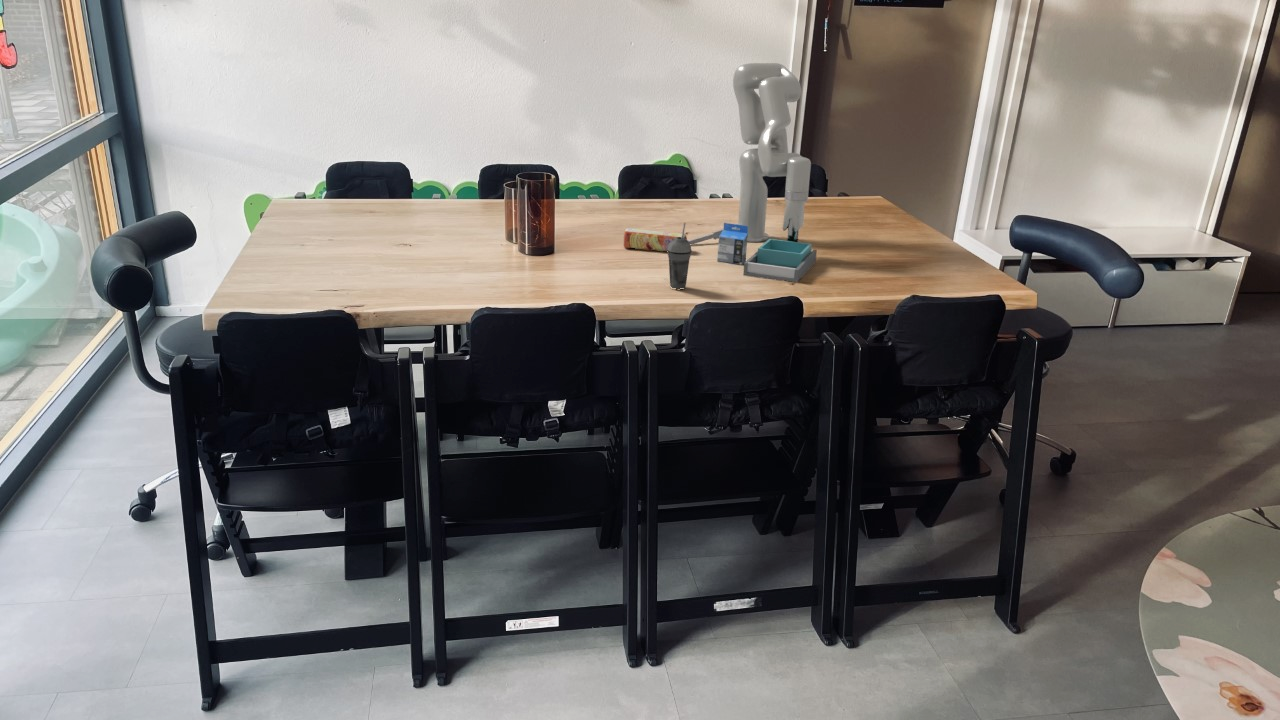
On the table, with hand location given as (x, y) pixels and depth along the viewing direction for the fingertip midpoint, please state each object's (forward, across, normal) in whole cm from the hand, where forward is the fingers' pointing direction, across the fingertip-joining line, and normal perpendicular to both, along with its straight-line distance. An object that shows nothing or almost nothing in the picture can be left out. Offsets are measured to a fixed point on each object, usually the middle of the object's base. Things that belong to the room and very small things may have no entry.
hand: (791, 250), depth 332 cm
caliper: (+3, -4, -32) cm, 32 cm away
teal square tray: (+2, +9, 0) cm, 10 cm away
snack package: (+3, +11, -45) cm, 46 cm away
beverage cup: (+3, +48, -23) cm, 54 cm away
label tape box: (+3, +14, -17) cm, 22 cm away
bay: (+3, +14, 0) cm, 14 cm away
